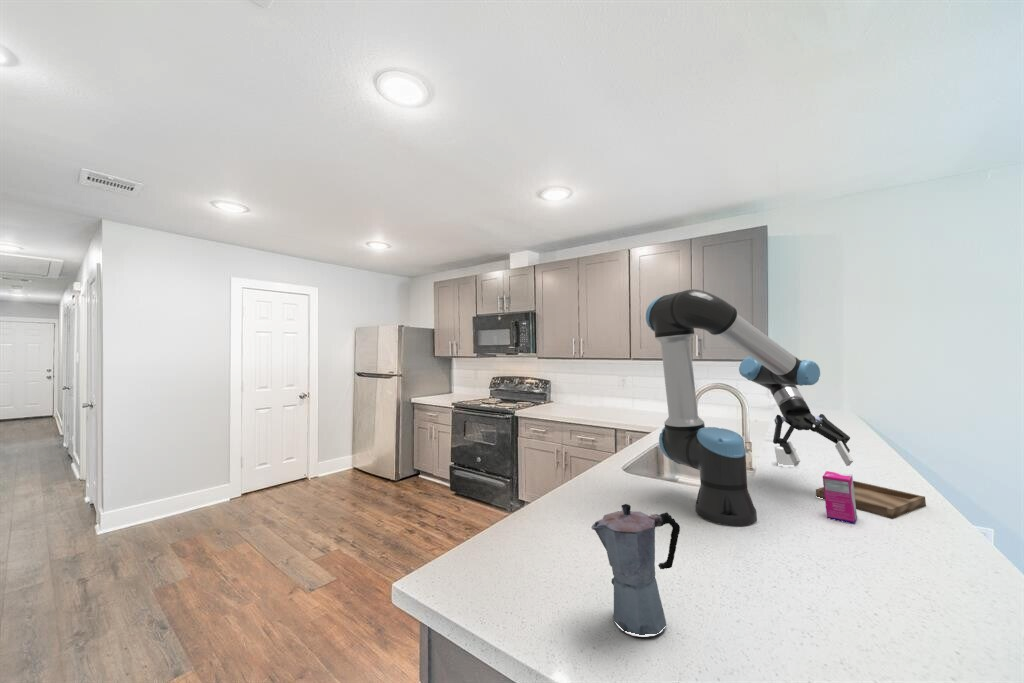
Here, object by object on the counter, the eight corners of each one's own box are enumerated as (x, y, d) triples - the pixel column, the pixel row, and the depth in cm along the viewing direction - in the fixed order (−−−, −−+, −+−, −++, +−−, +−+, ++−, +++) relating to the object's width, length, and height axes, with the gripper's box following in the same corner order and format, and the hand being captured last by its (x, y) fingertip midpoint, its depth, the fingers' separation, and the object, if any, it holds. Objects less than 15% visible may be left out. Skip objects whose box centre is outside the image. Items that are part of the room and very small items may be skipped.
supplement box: (829, 511, 108) (826, 470, 109) (857, 517, 104) (854, 474, 104) (825, 518, 104) (822, 475, 105) (854, 524, 100) (851, 479, 100)
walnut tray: (892, 518, 102) (891, 509, 102) (816, 497, 119) (815, 489, 119) (925, 505, 109) (925, 496, 110) (849, 487, 126) (848, 479, 126)
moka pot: (589, 607, 72) (584, 497, 73) (669, 599, 73) (663, 491, 74) (606, 645, 62) (599, 518, 63) (698, 635, 64) (690, 511, 64)
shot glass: (800, 468, 147) (799, 450, 148) (780, 468, 149) (779, 449, 149) (791, 463, 154) (790, 445, 154) (772, 463, 156) (771, 445, 156)
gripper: (829, 410, 128) (866, 470, 113) (747, 412, 133) (772, 469, 117) (839, 396, 123) (878, 456, 108) (753, 398, 128) (780, 456, 112)
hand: (823, 463), depth 113 cm, fingers open, 13 cm apart
